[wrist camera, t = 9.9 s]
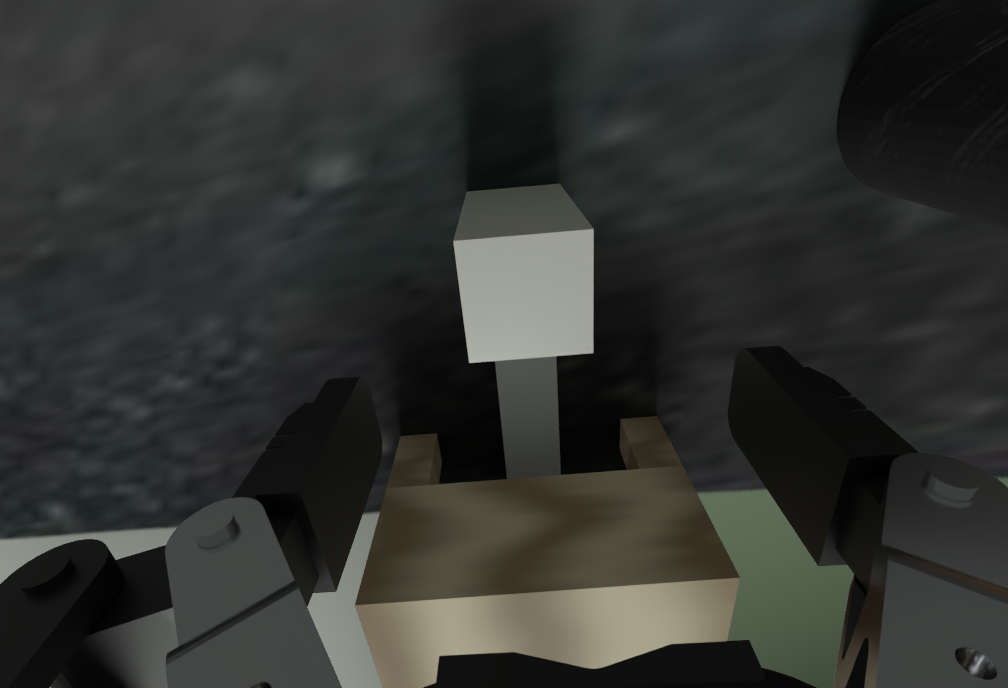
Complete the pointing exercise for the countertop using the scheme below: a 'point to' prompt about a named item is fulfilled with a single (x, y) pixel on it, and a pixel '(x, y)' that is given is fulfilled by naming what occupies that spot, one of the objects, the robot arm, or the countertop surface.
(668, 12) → the countertop surface
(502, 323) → the grey l-shaped block
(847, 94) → the travel mug
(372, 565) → the notched wooden block
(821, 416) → the robot arm
